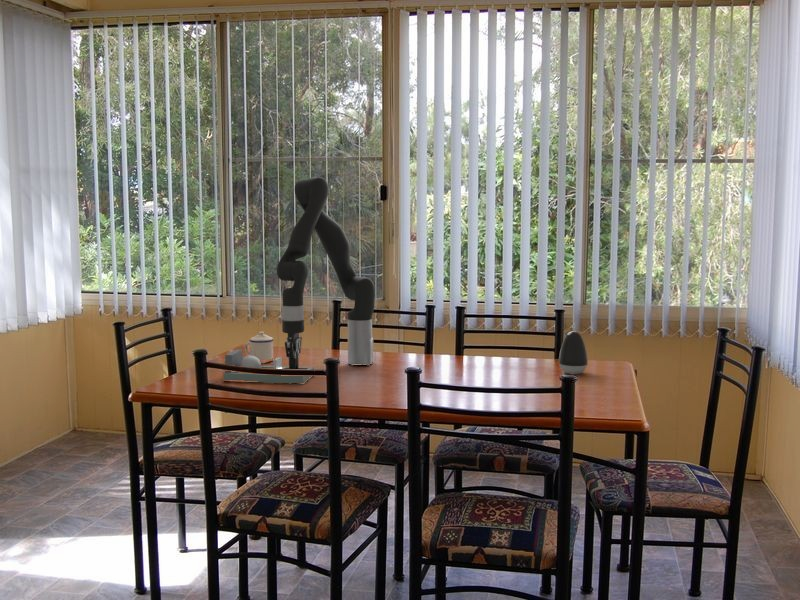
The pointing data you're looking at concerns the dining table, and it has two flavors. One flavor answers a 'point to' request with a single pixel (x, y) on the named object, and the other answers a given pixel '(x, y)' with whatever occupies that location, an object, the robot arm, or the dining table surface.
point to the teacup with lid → (260, 346)
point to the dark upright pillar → (278, 362)
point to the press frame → (236, 357)
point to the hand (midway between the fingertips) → (293, 367)
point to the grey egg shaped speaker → (573, 354)
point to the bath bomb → (250, 362)
